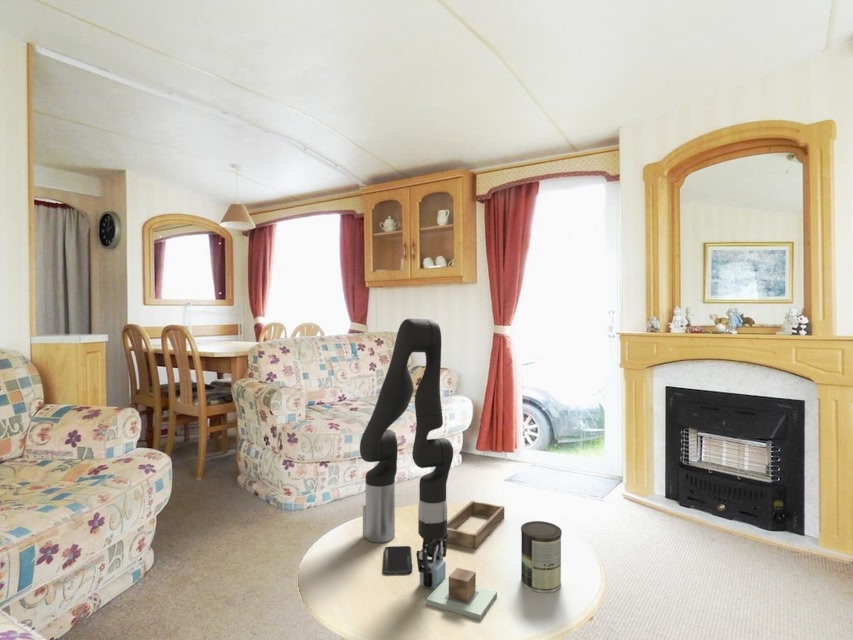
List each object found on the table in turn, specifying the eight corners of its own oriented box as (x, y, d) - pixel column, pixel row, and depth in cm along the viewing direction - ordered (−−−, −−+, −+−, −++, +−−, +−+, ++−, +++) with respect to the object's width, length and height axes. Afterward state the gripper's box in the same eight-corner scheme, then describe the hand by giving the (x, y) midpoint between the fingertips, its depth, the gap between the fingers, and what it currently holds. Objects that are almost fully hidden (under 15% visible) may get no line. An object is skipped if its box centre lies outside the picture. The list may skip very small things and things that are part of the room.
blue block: (419, 584, 130) (419, 565, 130) (428, 576, 135) (428, 557, 135) (437, 589, 128) (437, 570, 128) (445, 580, 133) (445, 561, 133)
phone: (383, 571, 136) (384, 546, 150) (383, 576, 136) (384, 550, 150) (412, 571, 136) (411, 545, 151) (412, 575, 136) (411, 549, 151)
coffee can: (513, 584, 131) (513, 529, 131) (532, 568, 139) (532, 517, 139) (550, 598, 124) (550, 541, 124) (568, 581, 132) (568, 527, 132)
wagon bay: (440, 540, 156) (440, 527, 156) (471, 511, 179) (471, 500, 179) (476, 549, 151) (476, 535, 150) (504, 518, 174) (504, 506, 174)
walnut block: (448, 597, 122) (448, 576, 122) (456, 587, 127) (457, 567, 127) (467, 602, 120) (467, 581, 120) (475, 592, 124) (475, 572, 124)
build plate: (426, 604, 122) (426, 598, 122) (445, 582, 131) (445, 577, 131) (480, 620, 115) (480, 614, 115) (496, 596, 125) (496, 591, 125)
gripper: (432, 504, 139) (432, 565, 140) (406, 523, 127) (406, 590, 127) (457, 509, 136) (457, 572, 136) (433, 529, 123) (433, 598, 123)
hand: (432, 580), depth 131 cm, fingers closed on blue block, 5 cm apart
